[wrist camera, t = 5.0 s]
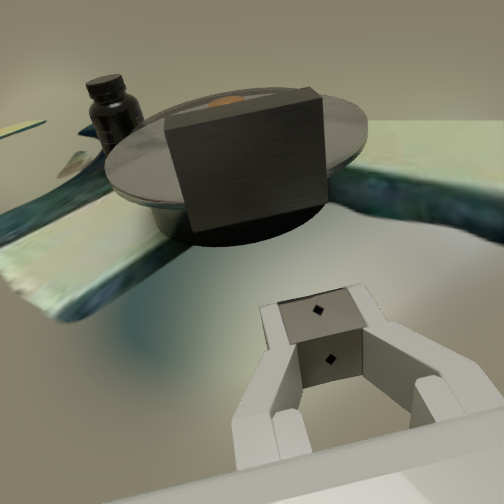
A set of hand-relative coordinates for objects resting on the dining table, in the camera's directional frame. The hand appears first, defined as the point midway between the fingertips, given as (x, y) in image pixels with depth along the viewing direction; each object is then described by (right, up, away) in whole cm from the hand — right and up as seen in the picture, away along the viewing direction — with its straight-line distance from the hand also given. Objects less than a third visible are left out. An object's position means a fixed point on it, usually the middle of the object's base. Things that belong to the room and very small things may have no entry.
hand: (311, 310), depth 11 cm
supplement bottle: (-19, +15, +49) cm, 54 cm away
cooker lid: (-3, +10, +21) cm, 24 cm away
